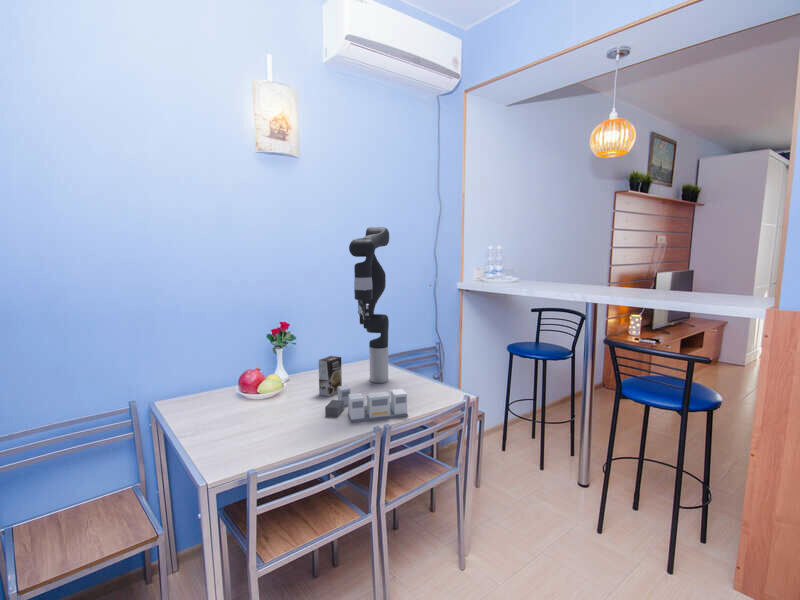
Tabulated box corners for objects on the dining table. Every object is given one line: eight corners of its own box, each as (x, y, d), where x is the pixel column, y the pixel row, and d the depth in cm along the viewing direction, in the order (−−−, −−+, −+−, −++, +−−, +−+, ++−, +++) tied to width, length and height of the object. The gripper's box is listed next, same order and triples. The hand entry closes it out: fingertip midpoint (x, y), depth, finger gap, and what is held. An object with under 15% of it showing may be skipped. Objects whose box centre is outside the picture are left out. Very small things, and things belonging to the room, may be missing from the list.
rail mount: (348, 413, 165) (347, 392, 164) (401, 407, 171) (401, 387, 170) (351, 422, 156) (351, 400, 155) (407, 416, 162) (407, 394, 161)
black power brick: (332, 409, 170) (332, 399, 170) (343, 410, 169) (343, 400, 169) (325, 417, 163) (325, 407, 162) (337, 417, 162) (337, 407, 161)
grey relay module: (337, 402, 177) (337, 386, 176) (346, 400, 179) (346, 385, 178) (341, 406, 173) (341, 390, 172) (350, 404, 174) (350, 388, 173)
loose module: (367, 413, 163) (366, 393, 162) (386, 410, 165) (386, 391, 164) (369, 418, 158) (369, 398, 157) (390, 415, 160) (389, 396, 159)
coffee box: (330, 397, 184) (329, 361, 182) (318, 394, 187) (317, 359, 185) (342, 390, 192) (341, 356, 190) (331, 388, 195) (330, 355, 193)
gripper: (351, 286, 178) (352, 323, 180) (357, 290, 165) (358, 330, 167) (368, 285, 180) (369, 322, 183) (376, 289, 167) (376, 329, 169)
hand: (364, 326), depth 175 cm, fingers open, 8 cm apart
